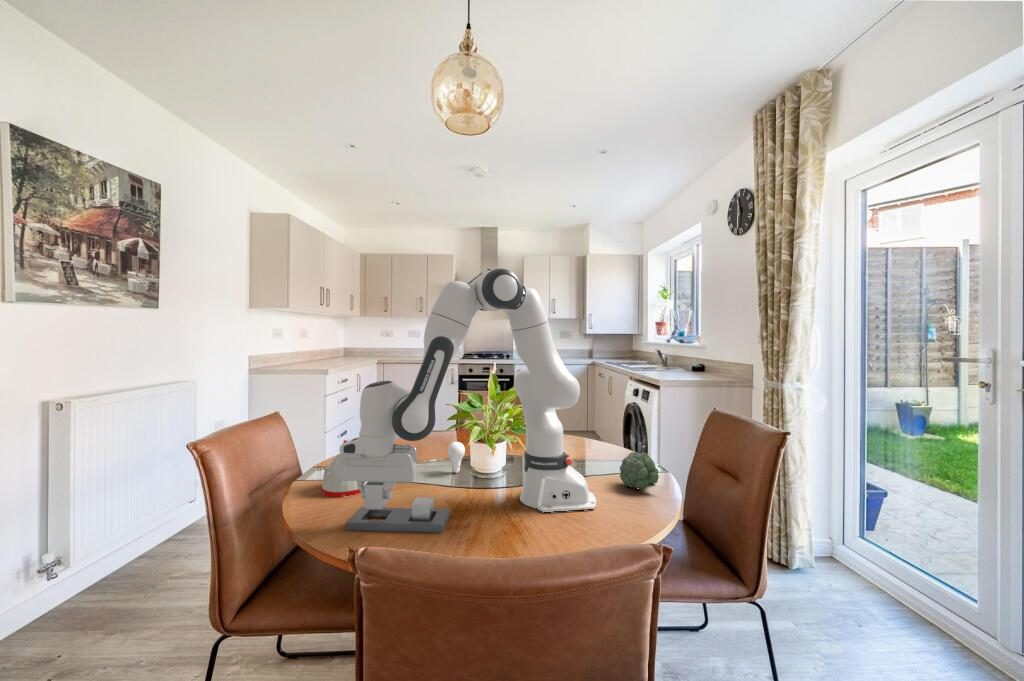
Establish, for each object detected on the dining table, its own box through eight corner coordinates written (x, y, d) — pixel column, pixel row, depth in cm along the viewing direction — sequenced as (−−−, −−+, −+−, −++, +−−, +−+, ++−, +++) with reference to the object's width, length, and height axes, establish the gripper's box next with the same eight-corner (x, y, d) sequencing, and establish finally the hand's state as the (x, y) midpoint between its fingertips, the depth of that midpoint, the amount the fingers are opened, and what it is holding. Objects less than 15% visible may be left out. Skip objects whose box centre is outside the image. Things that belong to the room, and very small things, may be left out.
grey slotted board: (449, 516, 108) (449, 509, 108) (442, 532, 99) (442, 524, 99) (360, 514, 108) (360, 507, 108) (346, 530, 99) (346, 522, 99)
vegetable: (677, 484, 128) (651, 470, 121) (646, 505, 133) (620, 494, 125) (658, 453, 138) (634, 439, 130) (630, 474, 142) (605, 462, 134)
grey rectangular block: (388, 501, 106) (388, 479, 106) (382, 509, 101) (382, 485, 101) (371, 501, 106) (371, 478, 106) (364, 508, 101) (364, 484, 101)
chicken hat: (363, 478, 136) (364, 434, 136) (374, 491, 125) (375, 443, 125) (318, 486, 129) (319, 439, 128) (325, 501, 117) (326, 449, 117)
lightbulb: (457, 477, 138) (457, 445, 138) (443, 473, 142) (444, 442, 142) (468, 472, 144) (468, 441, 144) (455, 469, 147) (455, 439, 147)
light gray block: (433, 520, 105) (433, 497, 105) (429, 528, 101) (429, 504, 101) (416, 520, 106) (416, 497, 106) (411, 528, 101) (411, 504, 101)
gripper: (420, 442, 106) (419, 494, 106) (344, 440, 107) (343, 492, 107) (414, 448, 100) (413, 503, 100) (333, 446, 101) (332, 501, 101)
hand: (376, 497), depth 103 cm, fingers closed on grey rectangular block, 4 cm apart
